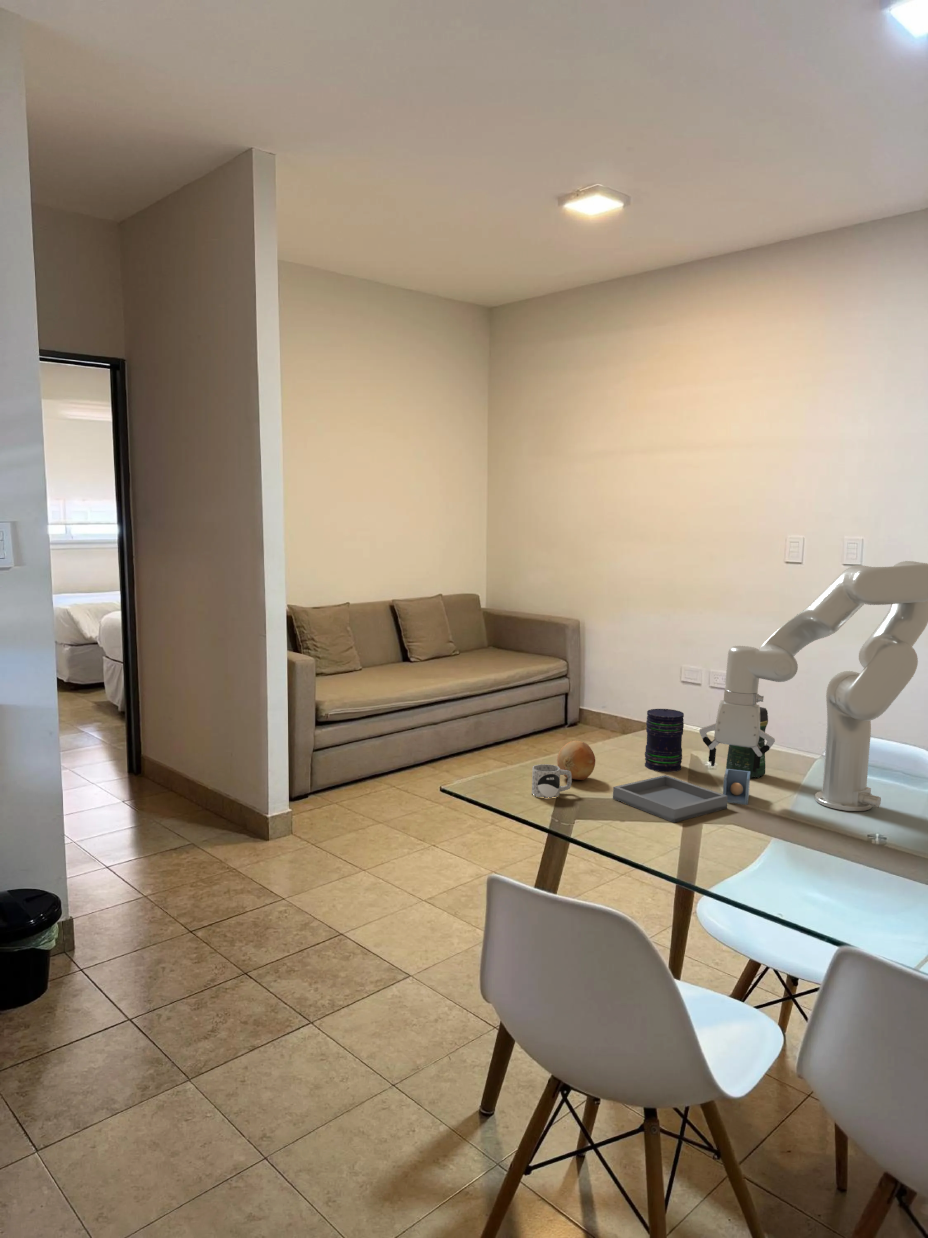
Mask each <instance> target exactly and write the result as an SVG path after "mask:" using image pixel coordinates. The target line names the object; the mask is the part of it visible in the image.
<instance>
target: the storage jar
mask: <svg viewBox="0 0 928 1238" xmlns="http://www.w3.org/2000/svg"><path fill="white" fill-rule="evenodd" d="M684 717H685V714H684V712H682V711H680V710H676V709H672V708H671V709H669V708H652V709H648V710H647V711H646V721H645V722H646V723H645V724H646V728H645V729H646V745H645V751H644V761H645V763H644V767H645V768H646V769H648V770H651V771H655V772H659V773H660V772H661V773H674V772H679V771H681V769H682V760H683V748H682V743H683V741H682V739H683V735H684V726H685V725H684V724H685V723H684Z"/></svg>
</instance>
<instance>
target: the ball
mask: <svg viewBox="0 0 928 1238" xmlns="http://www.w3.org/2000/svg"><path fill="white" fill-rule="evenodd" d="M730 791H731V793H732V794H734V795H740V794H741V793H742V792H743V787H742V785H741V784H739V783H733V784H732V785H731V787H730Z"/></svg>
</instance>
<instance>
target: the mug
mask: <svg viewBox="0 0 928 1238" xmlns="http://www.w3.org/2000/svg"><path fill="white" fill-rule="evenodd" d="M564 774H566V775H567V776H568V778H567V782H566V785H563V786H562V785H561V775H563V776H564ZM531 777H532V778H531V781H532V783H531V795H532V794H533V795H534V796H537V797H544V798H548V797H549V798H552V797H557V796H558V795H559V796H560V794H561V793H560V792H564V791H567V790H570V789H571V787H572V783H573V782H572V781H573V779H572V775H571V772H570V771H568V770H560V768H559V767H558V765H554V764H547V763H546V764H545V763H544V764H543V763H542V764H536V765H533V766H532V775H531ZM534 796H533V797H534Z"/></svg>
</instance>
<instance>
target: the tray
mask: <svg viewBox="0 0 928 1238" xmlns="http://www.w3.org/2000/svg"><path fill="white" fill-rule="evenodd" d="M612 788H613V789H612V799H613V800H614V799H616V800H615V801H617V800H618V801H617V802H619V801H621V802H620V803H622V802H624V803H626V804H625V805H627V804H628V805H627V806H629V805H630V807H633V808H635V809H638V810H640V811H643V812H645V813H648V814H650V815H653V816H655V817H659V818H661V819H663V820H666V821H668V822H671V823H673V824H674V823H679V822H682V821H686V820H689V819H693V818H697V817H700V816H704V815H708V814H712V813H714V812H718V811H722V810H725V809H727V808H728V802H727V799H728V796H727V795H724V794H723V793H720V792H717V791H714V790H711V789H709V788H705V787H702V786H699V785H697V784H693V783H692V782H691V783H690V782H687V781H685V780H681V779H680V778H679V779H678V778H675V777H672V776H669V775H667V774H666V775H661V776H655V777H651V778H648V779H642V780H639V781H638V780H637V781H633V782H630V783H629V782H628V783H625V784H621V785H620V784H619V785H616V786H613V787H612ZM624 803H623V804H624Z"/></svg>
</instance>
